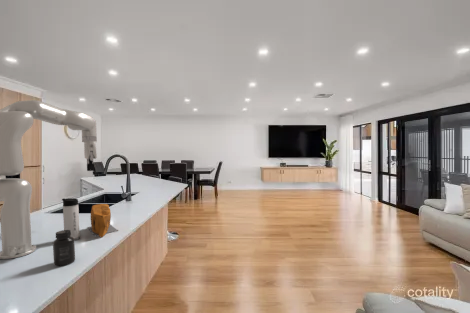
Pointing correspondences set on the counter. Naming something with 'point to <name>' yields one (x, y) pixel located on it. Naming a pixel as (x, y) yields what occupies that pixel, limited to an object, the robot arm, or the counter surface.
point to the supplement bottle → (63, 248)
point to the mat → (110, 229)
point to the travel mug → (71, 216)
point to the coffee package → (100, 218)
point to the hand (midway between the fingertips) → (90, 170)
